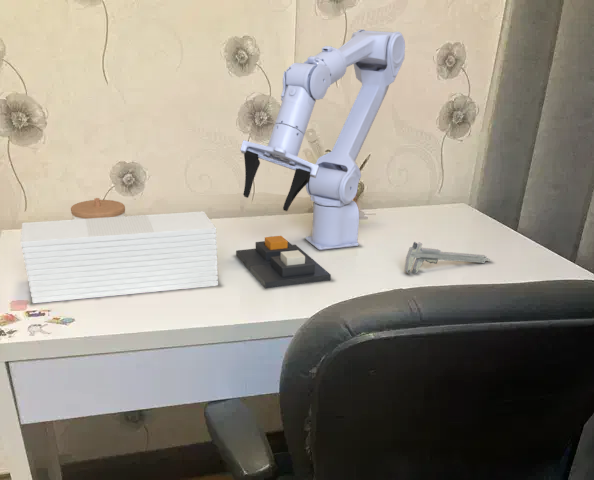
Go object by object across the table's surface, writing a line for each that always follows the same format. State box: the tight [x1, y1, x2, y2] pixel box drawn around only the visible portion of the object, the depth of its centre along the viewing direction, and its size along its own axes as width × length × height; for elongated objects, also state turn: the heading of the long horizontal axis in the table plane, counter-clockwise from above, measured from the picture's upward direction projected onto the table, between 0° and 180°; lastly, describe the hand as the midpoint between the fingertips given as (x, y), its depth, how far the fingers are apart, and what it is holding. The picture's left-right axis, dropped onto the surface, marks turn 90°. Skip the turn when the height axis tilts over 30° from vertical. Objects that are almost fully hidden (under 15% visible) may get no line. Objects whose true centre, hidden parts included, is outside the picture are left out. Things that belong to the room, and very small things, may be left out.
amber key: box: [264, 235, 289, 250], centre depth 132 cm, size 4×4×2 cm
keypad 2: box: [249, 256, 332, 289], centre depth 125 cm, size 13×9×3 cm
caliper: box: [404, 241, 491, 275], centre depth 130 cm, size 20×1×6 cm, turn 116°
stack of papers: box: [20, 210, 219, 304], centre depth 118 cm, size 32×11×11 cm, turn 108°
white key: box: [281, 250, 305, 266], centre depth 124 cm, size 4×4×2 cm
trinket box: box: [70, 197, 126, 220], centre depth 137 cm, size 11×11×9 cm
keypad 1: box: [235, 240, 313, 272], centre depth 132 cm, size 13×9×3 cm
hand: (265, 203), depth 121 cm, fingers open, 7 cm apart
